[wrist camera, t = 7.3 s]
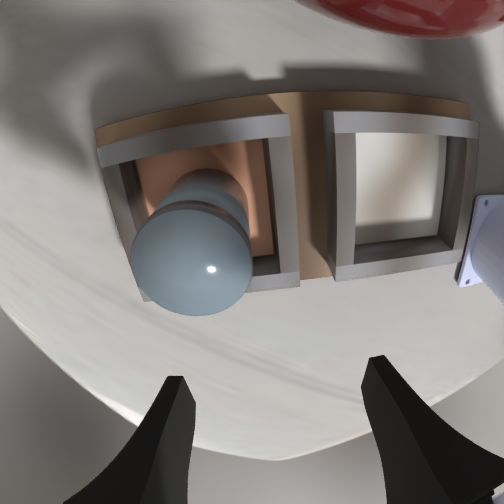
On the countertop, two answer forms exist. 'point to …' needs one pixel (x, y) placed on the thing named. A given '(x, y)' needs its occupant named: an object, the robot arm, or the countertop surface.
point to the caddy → (311, 177)
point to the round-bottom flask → (414, 16)
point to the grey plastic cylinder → (196, 245)
